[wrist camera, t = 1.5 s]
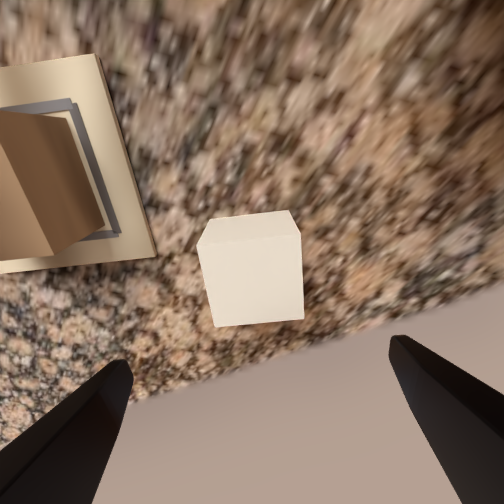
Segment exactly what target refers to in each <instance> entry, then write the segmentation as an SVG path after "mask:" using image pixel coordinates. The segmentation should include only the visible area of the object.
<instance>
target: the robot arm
mask: <svg viewBox="0 0 504 504" xmlns="http://www.w3.org/2000/svg"><path fill="white" fill-rule="evenodd" d="M389 360H390V363H391V365H392V367H393V370H394V372H395V374H396V377H397V379H398V381H399V384H400V386H401V388H402V391H403V393H404V395H405V398H406V400H407V402H408V404H409V407H410V409H411V411H412V413H413V415H414V417H415V418H416V420H417V422H418V424H419V426H420V428H421V429H422V431H423V433H424V435H425V437H426V438H427V440H428V442H429V444H430V446H431V448H432V449H433V451H434V453H435V455H436V457H437V459H438V460H439V462H440V464H441V466H442V468H443V469H444V471H445V473H446V475H447V477H448V479H449V481H450V482H451V484H452V486H453V488H454V490H455V491H456V493H457V495H458V497H459V499H460V501H461V502H462V504H504V395H503V394H501V393H500V392H498V391H497V390H495V389H493V388H491V387H490V386H488V385H487V384H485V383H484V382H482V381H480V380H479V379H477V378H475V377H474V376H472V375H470V374H469V373H467V372H466V371H464V370H462V369H461V368H459V367H457V366H456V365H454V364H453V363H451V362H449V361H447V360H446V359H444V358H443V357H441V356H439V355H438V354H436V353H435V352H433V351H431V350H430V349H428V348H426V347H425V346H423V345H422V344H420V343H418V342H417V341H415V340H413V339H412V338H410V337H408V336H406V335H394V336H392V337H391V340H390V348H389ZM133 381H134V377H133V373H132V371H131V369H130V367H129V364H128V362H127V361H126V360H125V359H118V360H113V361H111V362H110V363H109V364H107V365H106V366H105V367H104V368H102V369H101V370H100V371H99V372H97V373H96V374H95V375H94V376H92V377H91V378H90V379H89V380H87V381H86V382H85V383H84V384H83V385H81V386H80V387H79V388H78V389H76V390H75V391H74V392H73V393H71V394H70V395H69V396H68V397H66V398H65V399H64V400H63V401H61V402H60V403H59V404H58V405H56V406H55V407H54V408H53V409H52V410H50V411H49V412H48V413H47V414H45V415H44V416H43V417H42V418H40V419H39V420H38V421H37V422H35V423H34V424H33V425H32V426H30V427H29V428H28V429H27V430H25V431H24V432H23V433H22V434H20V435H19V436H18V437H17V438H15V439H14V440H13V441H12V442H11V443H9V444H8V445H7V446H6V447H4V448H3V449H2V450H1V451H0V504H92V501H93V499H94V496H95V493H96V491H97V488H98V486H99V483H100V481H101V478H102V475H103V473H104V470H105V468H106V465H107V462H108V460H109V457H110V454H111V452H112V449H113V447H114V444H115V441H116V439H117V436H118V433H119V430H120V427H121V424H122V421H123V417H124V414H125V410H126V407H127V403H128V400H129V396H130V392H131V389H132V385H133Z"/></svg>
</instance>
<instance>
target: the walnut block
mask: <svg viewBox="0 0 504 504" xmlns="http://www.w3.org/2000/svg"><path fill="white" fill-rule="evenodd" d="M103 226H105V222H104V220H103V217H102V214H101V212H100V209H99V206H98V203H97V201H96V198H95V195H94V193H93V190H92V187H91V185H90V182H89V179H88V176H87V174H86V171H85V168H84V166H83V163H82V160H81V157H80V155H79V152H78V149H77V147H76V144H75V141H74V139H73V136H72V133H71V130H70V128H69V125H68V122H67V120H66V118H62V117H54V116H45V115H36V114H28V113H19V112H11V111H2V110H0V261H7V260H16V259H25V258H34V257H43V256H52V255H55V254H57V253H59V252H61V251H62V250H64V249H66V248H67V247H69V246H71V245H73V244H74V243H76V242H78V241H79V240H81V239H83V238H85V237H86V236H88V235H90V234H91V233H93V232H95V231H97V230H98V229H100V228H102V227H103Z"/></svg>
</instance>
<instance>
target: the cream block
mask: <svg viewBox="0 0 504 504" xmlns="http://www.w3.org/2000/svg"><path fill="white" fill-rule="evenodd" d="M196 246H197V250H198V255H199V259H200V264H201V268H202V273H203V277H204V282H205V286H206V290H207V295H208V299H209V304H210V308H211V313H212V317H213V322H214V326H215V327H225V326H235V325H246V324H256V323H267V322H277V321H288V320H298V319H304V298H303V274H302V251H301V233H300V231H299V229H298V228H297V226H296V224H295V222H294V220H293V218H292V216H291V214H290V212H289V210H285V211H276V212H268V213H259V214H250V215H242V216H233V217H224V218H216V219H210V220H209V222H208V224H207V226H206V228H205V230H204V232H203V234H202V236H201V238H200V239H199V241H198V243H197V245H196Z"/></svg>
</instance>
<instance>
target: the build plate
mask: <svg viewBox="0 0 504 504" xmlns="http://www.w3.org/2000/svg"><path fill="white" fill-rule="evenodd" d="M0 110H2V111H11V112H19V113H28V114H36V115H45V116H54V117H62V118H66V120H67V122H68V125H69V128H70V130H71V133H72V136H73V139H74V141H75V144H76V147H77V149H78V152H79V155H80V157H81V160H82V163H83V166H84V168H85V171H86V174H87V176H88V179H89V182H90V185H91V187H92V190H93V193H94V195H95V198H96V201H97V203H98V206H99V209H100V212H101V214H102V217H103V220H104V222H105V226H103V227H102V228H100V229H98V230H97V231H95V232H93V233H91V234H90V235H88V236H86V237H85V238H83V239H81V240H79V241H78V242H76V243H74V244H73V245H71V246H69V247H67V248H66V249H64V250H62V251H61V252H59V253H57V254H55V255H52V256H43V257H34V258H25V259H16V260H7V261H0V274H2V273H11V272H20V271H30V270H39V269H48V268H57V267H67V266H76V265H85V264H94V263H103V262H113V261H122V260H131V259H140V258H149V257H156V255H157V252H156V248H155V245H154V242H153V238H152V235H151V231H150V228H149V225H148V221H147V218H146V215H145V211H144V208H143V205H142V201H141V198H140V194H139V191H138V188H137V184H136V181H135V178H134V174H133V171H132V168H131V164H130V161H129V157H128V154H127V151H126V147H125V144H124V141H123V137H122V134H121V130H120V127H119V124H118V120H117V117H116V114H115V110H114V107H113V104H112V100H111V97H110V93H109V90H108V87H107V83H106V80H105V77H104V73H103V70H102V67H101V63H100V60H99V56H97V55H96V54H87V55H81V56H74V57H67V58H61V59H54V60H47V61H41V62H34V63H27V64H21V65H14V66H7V67H1V68H0Z"/></svg>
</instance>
